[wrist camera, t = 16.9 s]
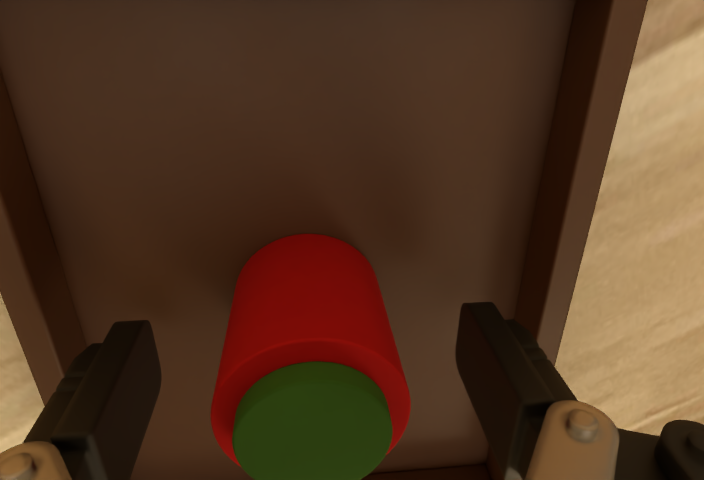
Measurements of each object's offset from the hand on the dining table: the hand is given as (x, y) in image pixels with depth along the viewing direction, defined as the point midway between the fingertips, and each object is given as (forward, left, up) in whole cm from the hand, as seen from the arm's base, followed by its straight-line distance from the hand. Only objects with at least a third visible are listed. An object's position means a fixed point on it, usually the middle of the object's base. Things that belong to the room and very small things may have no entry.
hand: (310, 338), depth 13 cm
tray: (0, 0, -2) cm, 2 cm away
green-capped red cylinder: (0, 0, -2) cm, 2 cm away
